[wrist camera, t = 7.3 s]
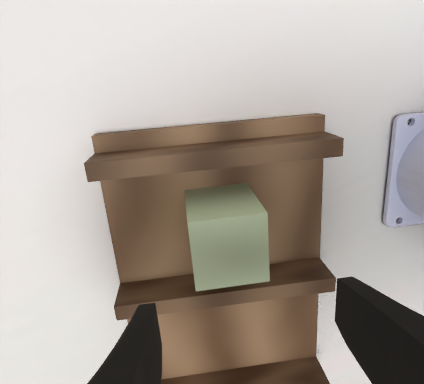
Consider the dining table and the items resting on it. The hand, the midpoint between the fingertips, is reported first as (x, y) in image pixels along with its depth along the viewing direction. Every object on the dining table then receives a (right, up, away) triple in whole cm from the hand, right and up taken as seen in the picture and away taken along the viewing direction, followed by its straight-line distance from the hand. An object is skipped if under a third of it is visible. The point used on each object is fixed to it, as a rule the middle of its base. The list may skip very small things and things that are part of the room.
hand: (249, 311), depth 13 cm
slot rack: (-1, -1, +11) cm, 11 cm away
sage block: (-1, +3, +9) cm, 9 cm away
